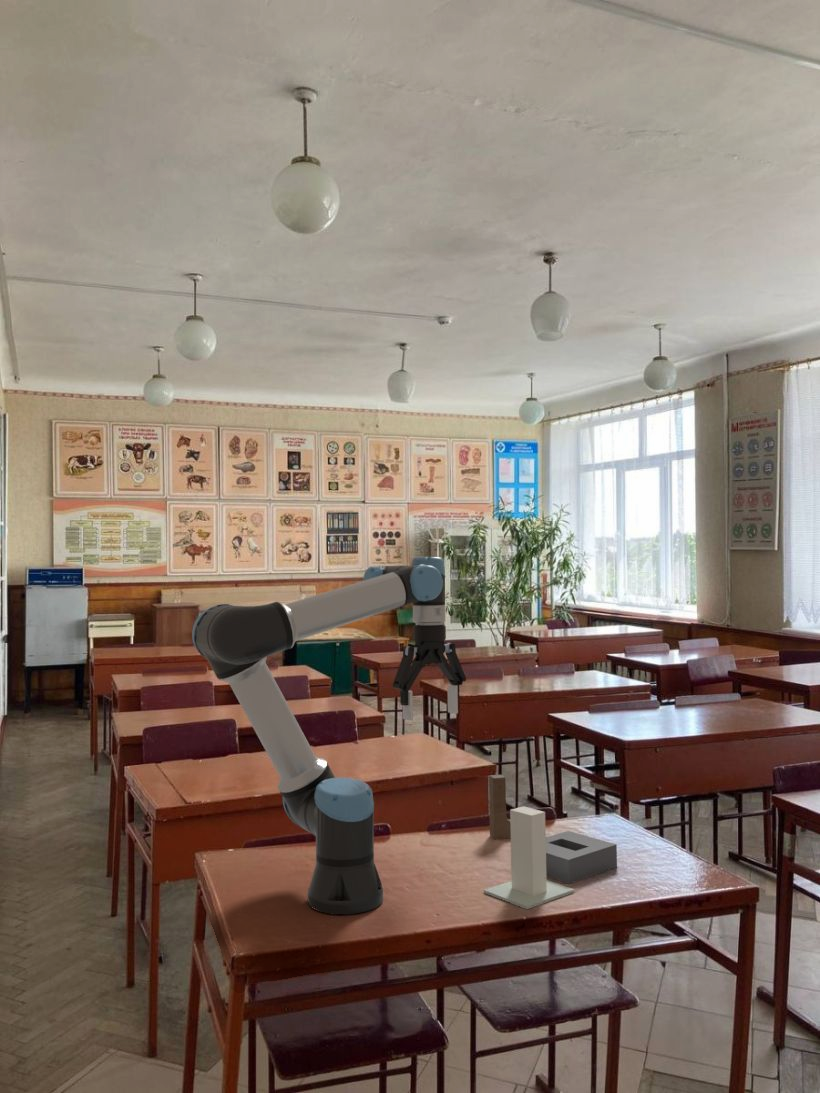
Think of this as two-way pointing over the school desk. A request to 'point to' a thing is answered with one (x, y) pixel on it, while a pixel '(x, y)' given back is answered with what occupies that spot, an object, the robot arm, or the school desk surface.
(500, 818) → the wooden block
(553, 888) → the mat
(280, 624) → the robot arm
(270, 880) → the school desk surface
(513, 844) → the plug
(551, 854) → the socket block
